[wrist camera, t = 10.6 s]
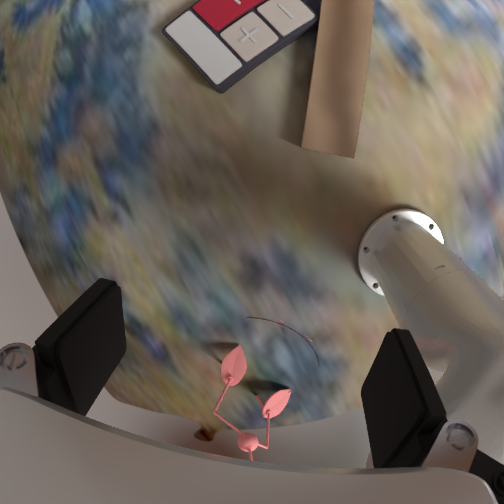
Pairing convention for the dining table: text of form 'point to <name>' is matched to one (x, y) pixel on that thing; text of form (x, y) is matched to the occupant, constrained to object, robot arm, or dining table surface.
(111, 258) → the dining table surface
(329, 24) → the brown wooden plank
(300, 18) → the calculator
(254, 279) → the dining table surface
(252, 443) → the leafy plant stem
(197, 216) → the dining table surface
